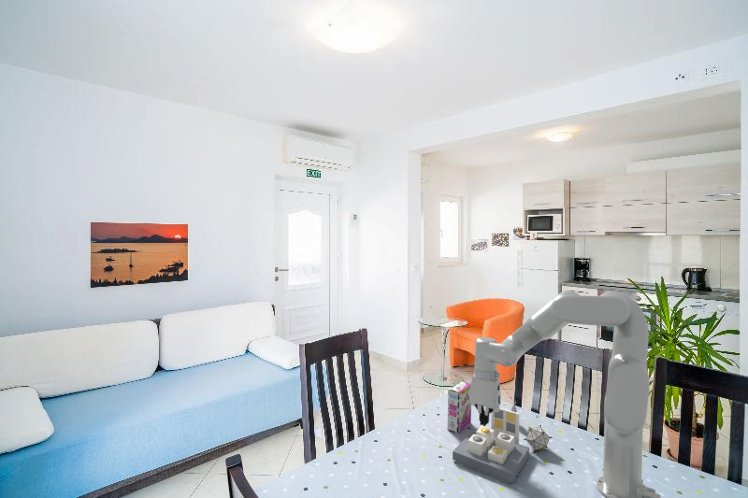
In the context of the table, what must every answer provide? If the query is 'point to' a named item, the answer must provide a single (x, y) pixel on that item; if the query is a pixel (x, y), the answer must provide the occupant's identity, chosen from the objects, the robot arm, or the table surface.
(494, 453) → the button
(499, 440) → the button
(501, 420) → the card
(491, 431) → the button
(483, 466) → the board
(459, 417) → the candy bar box
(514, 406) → the pocket watch
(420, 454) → the table surface
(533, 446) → the game die
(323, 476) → the table surface
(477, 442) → the button
